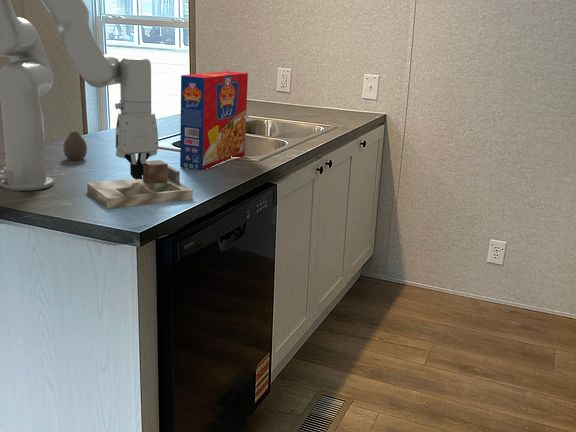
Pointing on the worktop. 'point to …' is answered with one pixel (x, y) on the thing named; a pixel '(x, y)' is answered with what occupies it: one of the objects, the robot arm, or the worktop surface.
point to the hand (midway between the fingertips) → (137, 178)
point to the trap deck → (139, 191)
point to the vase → (75, 147)
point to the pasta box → (212, 118)
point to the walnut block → (155, 172)
